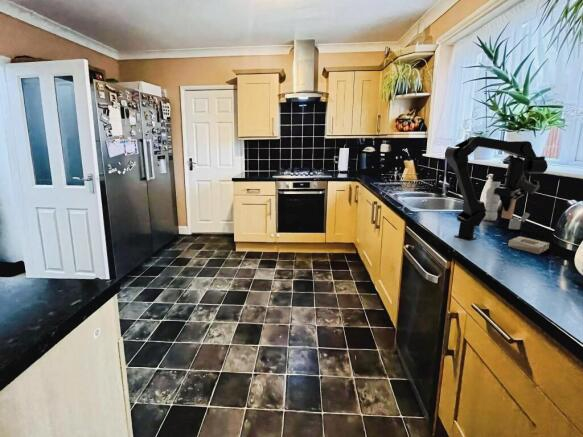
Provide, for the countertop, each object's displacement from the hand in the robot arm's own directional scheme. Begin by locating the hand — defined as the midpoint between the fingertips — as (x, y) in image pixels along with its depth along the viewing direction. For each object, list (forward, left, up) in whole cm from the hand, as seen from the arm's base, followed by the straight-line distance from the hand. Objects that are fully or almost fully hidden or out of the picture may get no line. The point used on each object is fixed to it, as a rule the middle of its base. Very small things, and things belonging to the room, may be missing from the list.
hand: (508, 210), depth 132 cm
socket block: (-5, -11, -12) cm, 17 cm away
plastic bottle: (+28, +18, -12) cm, 35 cm away
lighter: (+23, +3, -12) cm, 26 cm away
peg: (0, 0, -3) cm, 3 cm away
